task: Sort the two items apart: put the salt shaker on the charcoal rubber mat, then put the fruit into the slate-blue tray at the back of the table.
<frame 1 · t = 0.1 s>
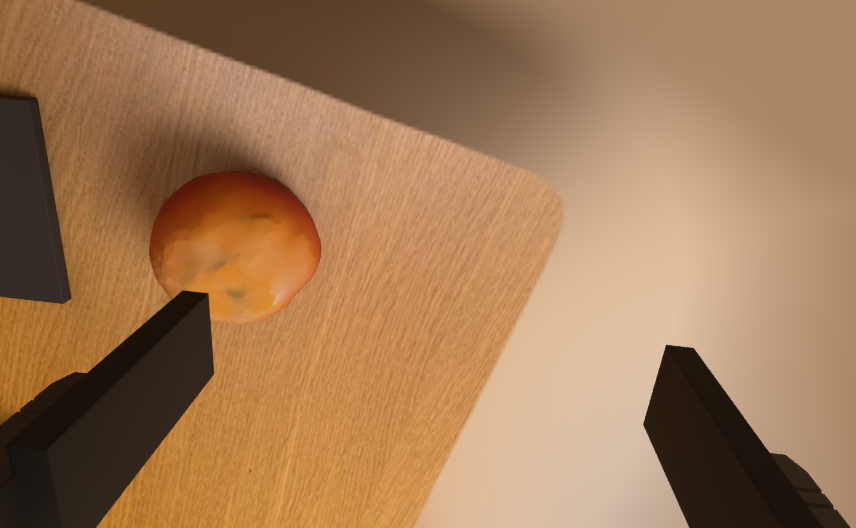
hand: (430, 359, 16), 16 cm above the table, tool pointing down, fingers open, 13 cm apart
fruit: (261, 226, 32), on the table
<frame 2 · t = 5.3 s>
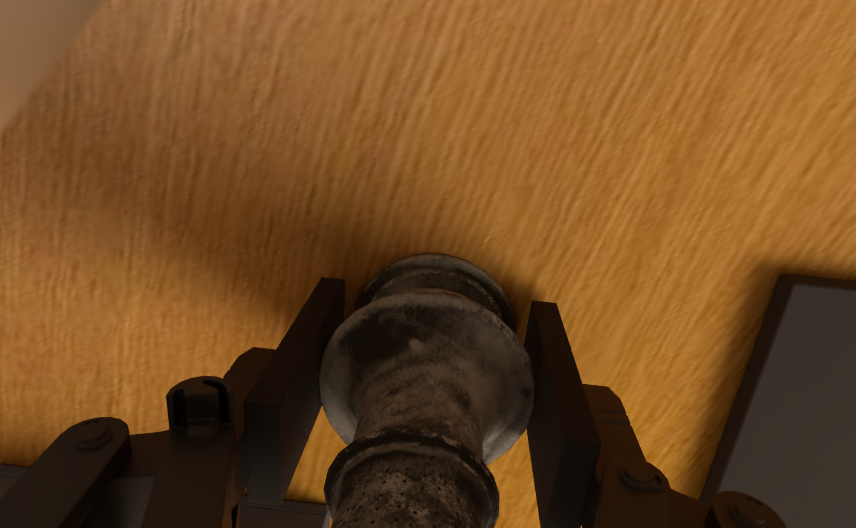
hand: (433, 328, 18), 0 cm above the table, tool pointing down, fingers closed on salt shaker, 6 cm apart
salt shaker: (434, 326, 18), on the table, touching gripper
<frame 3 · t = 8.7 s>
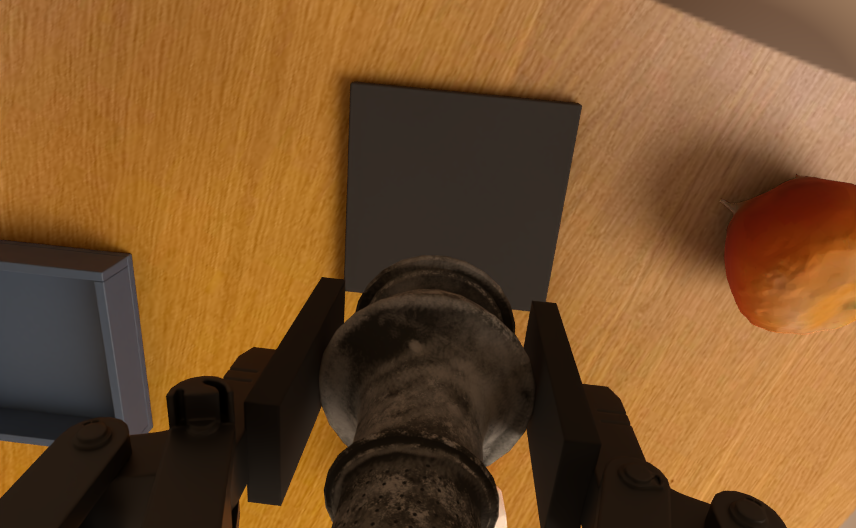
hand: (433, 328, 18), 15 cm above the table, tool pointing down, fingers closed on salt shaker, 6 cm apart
mat: (453, 201, 32), on the table
tray: (46, 335, 37), on the table
fruit: (773, 233, 31), on the table
salt shaker: (434, 327, 18), point 14 cm above the table, touching gripper
when the fingers open (1 cm above the table, at t = 12.1 s): salt shaker stays where it is, resting on mat.
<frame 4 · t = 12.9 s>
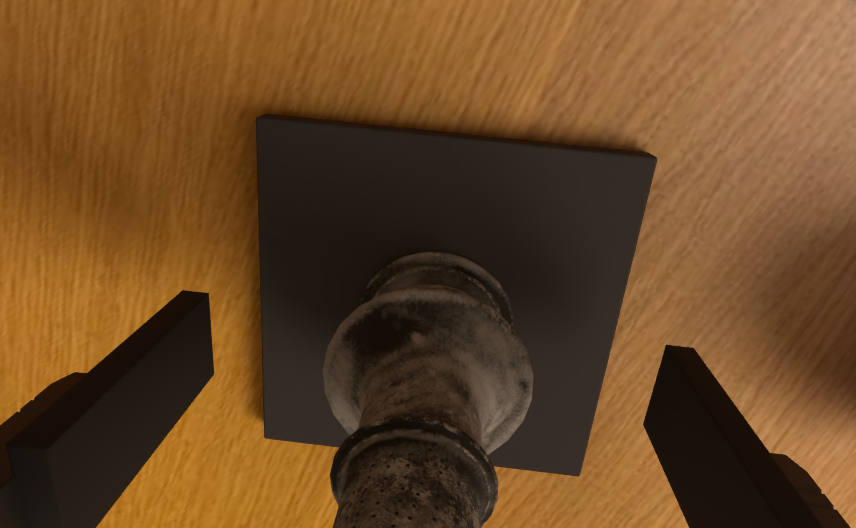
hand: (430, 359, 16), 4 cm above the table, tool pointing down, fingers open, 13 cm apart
mat: (436, 306, 19), on the table
salt shaker: (434, 321, 19), point 1 cm above the table, touching mat
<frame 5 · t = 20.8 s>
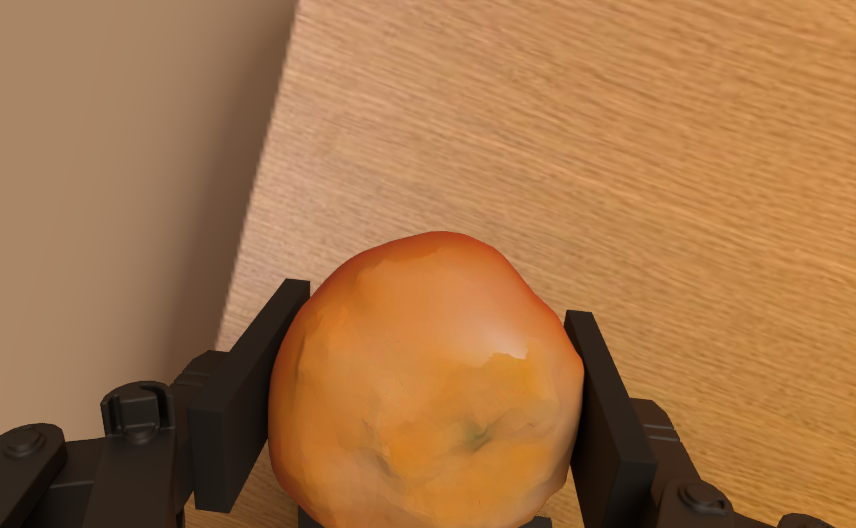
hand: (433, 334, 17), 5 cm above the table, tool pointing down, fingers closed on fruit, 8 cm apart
fruit: (433, 327, 18), point 5 cm above the table, touching gripper
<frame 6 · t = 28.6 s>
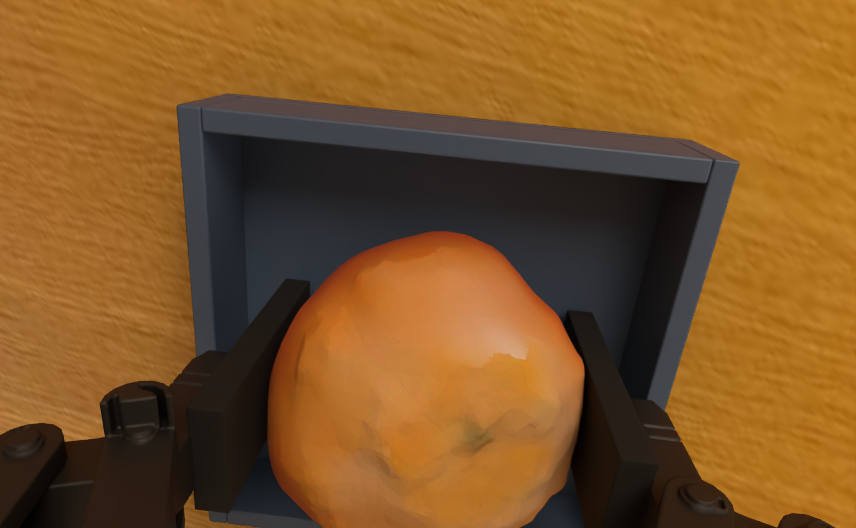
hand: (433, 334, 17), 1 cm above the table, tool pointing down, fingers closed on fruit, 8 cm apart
tray: (434, 322, 18), on the table
fruit: (432, 327, 18), resting on tray, touching gripper
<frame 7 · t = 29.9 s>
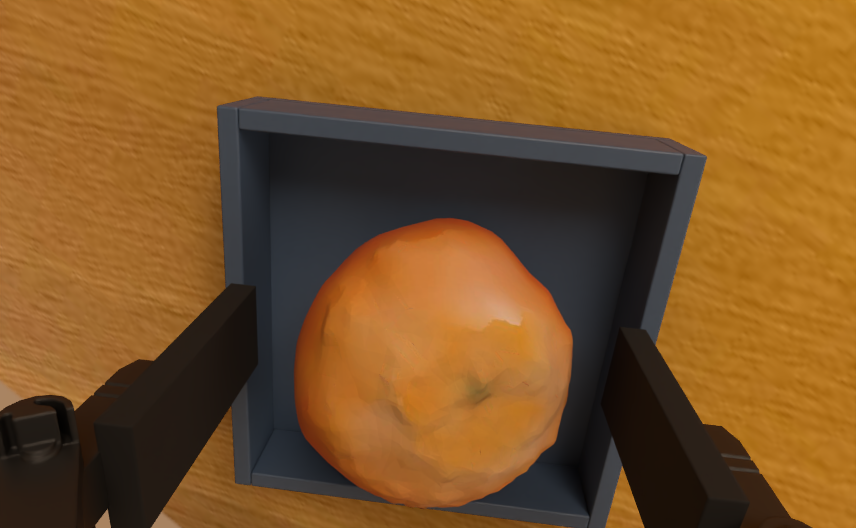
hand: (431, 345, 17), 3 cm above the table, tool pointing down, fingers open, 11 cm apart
tray: (440, 304, 20), on the table
fruit: (438, 308, 20), resting on tray
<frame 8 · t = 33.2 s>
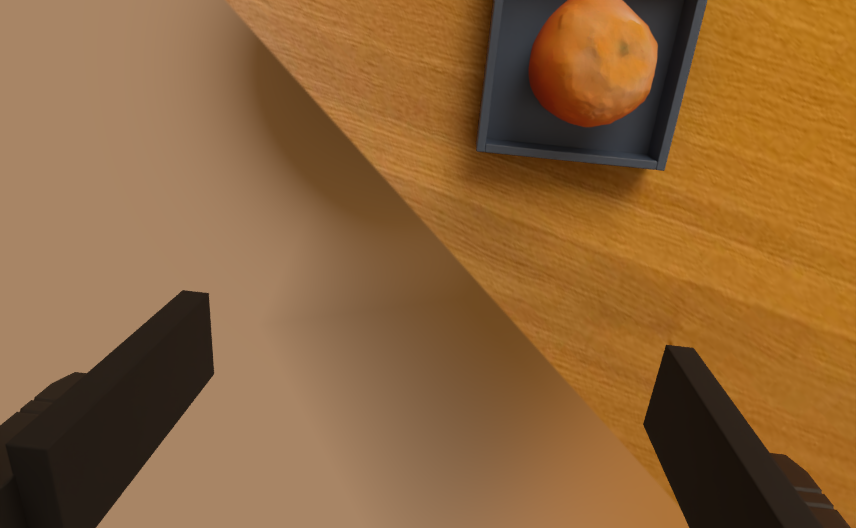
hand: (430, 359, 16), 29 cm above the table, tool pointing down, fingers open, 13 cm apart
tray: (580, 60, 39), on the table
fruit: (580, 60, 39), resting on tray
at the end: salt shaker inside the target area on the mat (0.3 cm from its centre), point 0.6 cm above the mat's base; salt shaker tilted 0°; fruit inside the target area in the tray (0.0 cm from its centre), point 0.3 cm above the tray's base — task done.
